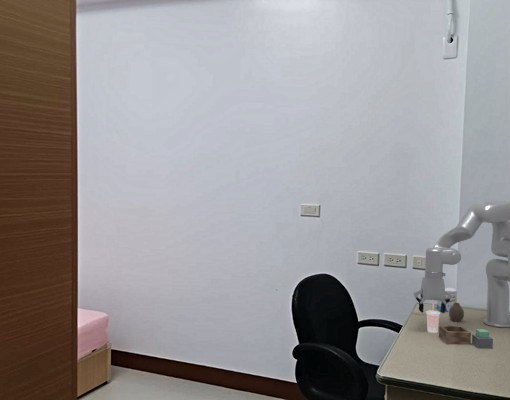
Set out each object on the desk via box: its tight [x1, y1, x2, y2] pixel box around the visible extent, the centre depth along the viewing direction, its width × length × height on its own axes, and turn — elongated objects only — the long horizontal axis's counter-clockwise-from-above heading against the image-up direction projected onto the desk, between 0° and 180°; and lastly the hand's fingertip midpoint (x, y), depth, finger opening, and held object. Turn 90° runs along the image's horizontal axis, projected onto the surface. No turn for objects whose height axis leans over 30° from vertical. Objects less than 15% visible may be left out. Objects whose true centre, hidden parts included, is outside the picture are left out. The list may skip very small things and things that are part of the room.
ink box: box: [436, 287, 458, 313], centre depth 268 cm, size 9×8×12 cm
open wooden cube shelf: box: [438, 325, 472, 345], centre depth 216 cm, size 10×10×5 cm
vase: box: [448, 302, 465, 323], centre depth 247 cm, size 7×7×9 cm
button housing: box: [471, 333, 494, 349], centre depth 209 cm, size 6×6×4 cm
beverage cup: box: [425, 300, 441, 334], centre depth 229 cm, size 6×6×14 cm
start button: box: [475, 328, 490, 338], centre depth 209 cm, size 4×4×5 cm
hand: (432, 312), depth 229 cm, fingers open, 9 cm apart
